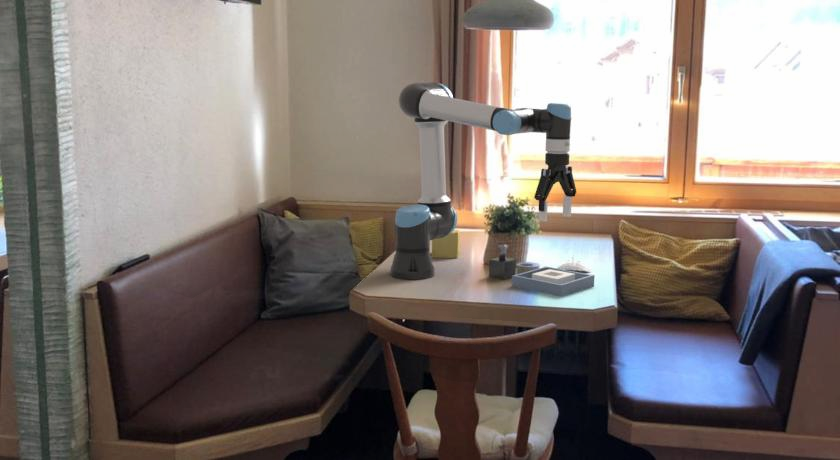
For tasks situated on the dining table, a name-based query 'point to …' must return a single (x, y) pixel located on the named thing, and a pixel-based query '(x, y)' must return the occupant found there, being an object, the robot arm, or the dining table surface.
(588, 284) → the tray
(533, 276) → the ring
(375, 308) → the dining table surface
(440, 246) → the cheese
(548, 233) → the dining table surface
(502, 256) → the grey block with post
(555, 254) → the dining table surface
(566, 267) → the pincushion
